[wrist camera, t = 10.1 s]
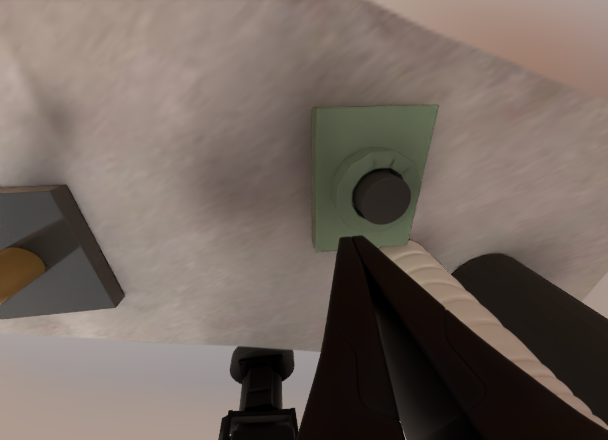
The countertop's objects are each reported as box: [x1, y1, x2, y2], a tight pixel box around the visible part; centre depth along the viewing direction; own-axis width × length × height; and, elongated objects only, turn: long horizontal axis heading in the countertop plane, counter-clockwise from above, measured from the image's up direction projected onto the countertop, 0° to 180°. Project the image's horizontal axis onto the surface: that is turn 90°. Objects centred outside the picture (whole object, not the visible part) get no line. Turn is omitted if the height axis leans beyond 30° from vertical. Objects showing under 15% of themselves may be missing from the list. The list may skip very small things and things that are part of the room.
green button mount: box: [312, 105, 439, 252], centre depth 19 cm, size 12×9×4 cm
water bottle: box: [379, 240, 608, 430], centre depth 15 cm, size 9×6×25 cm
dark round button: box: [354, 171, 411, 225], centre depth 16 cm, size 4×4×2 cm
